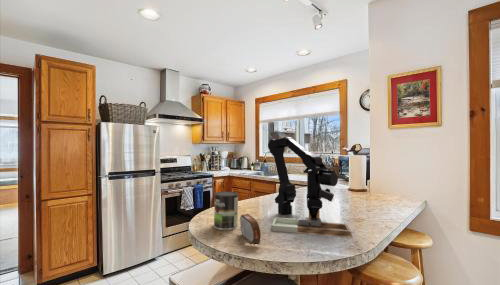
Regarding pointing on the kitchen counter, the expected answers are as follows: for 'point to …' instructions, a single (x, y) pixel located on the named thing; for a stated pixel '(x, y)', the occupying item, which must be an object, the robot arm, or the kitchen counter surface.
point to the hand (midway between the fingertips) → (313, 218)
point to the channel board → (327, 229)
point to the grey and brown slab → (250, 228)
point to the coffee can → (226, 210)
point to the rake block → (316, 217)
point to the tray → (285, 225)
